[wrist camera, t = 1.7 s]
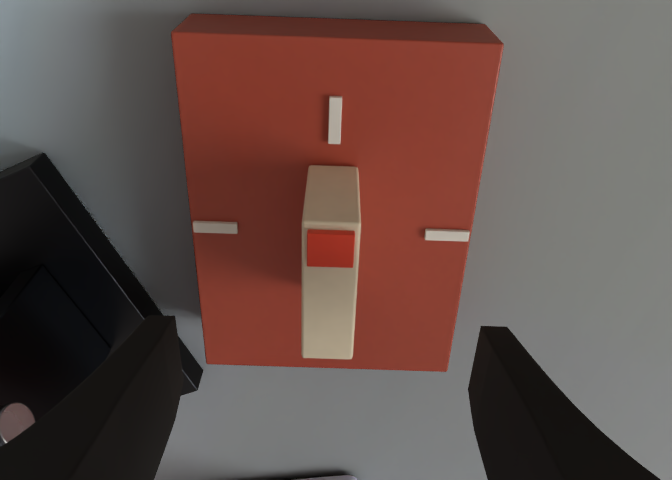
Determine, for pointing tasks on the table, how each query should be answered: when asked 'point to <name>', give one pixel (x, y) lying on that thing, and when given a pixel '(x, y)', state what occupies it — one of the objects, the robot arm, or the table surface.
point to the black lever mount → (59, 296)
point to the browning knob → (330, 261)
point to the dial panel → (332, 150)
